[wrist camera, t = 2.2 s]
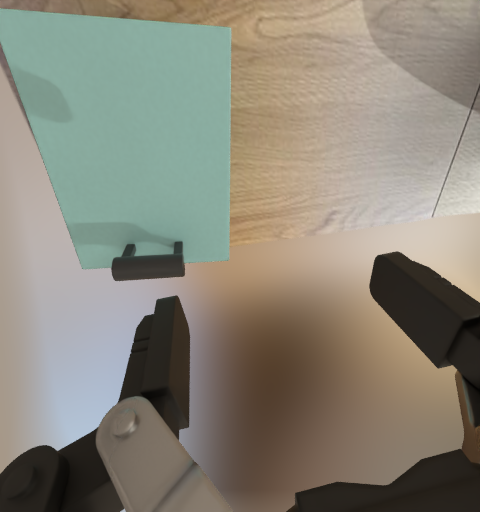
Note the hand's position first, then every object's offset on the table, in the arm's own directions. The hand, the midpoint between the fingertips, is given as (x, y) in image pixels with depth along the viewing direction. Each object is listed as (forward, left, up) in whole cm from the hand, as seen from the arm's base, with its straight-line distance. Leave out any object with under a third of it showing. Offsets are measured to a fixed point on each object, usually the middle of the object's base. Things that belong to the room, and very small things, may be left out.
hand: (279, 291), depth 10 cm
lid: (-7, +2, -13) cm, 15 cm away
